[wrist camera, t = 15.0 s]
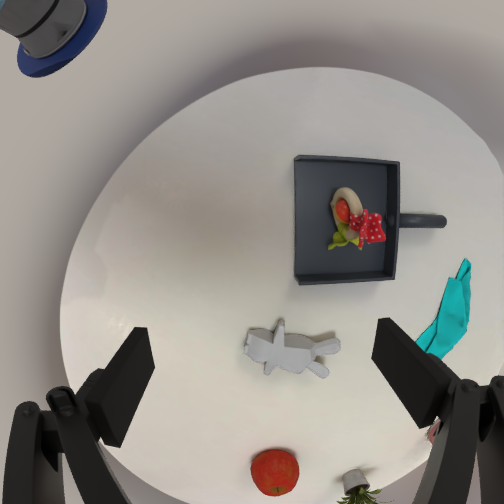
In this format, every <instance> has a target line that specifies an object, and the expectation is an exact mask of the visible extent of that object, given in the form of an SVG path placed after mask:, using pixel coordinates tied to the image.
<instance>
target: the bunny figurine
mask: <svg viewBox="0 0 504 504" xmlns="http://www.w3.org/2000/svg"><path fill="white" fill-rule="evenodd" d="M284 331H285V324H284V321H281V320H279V322H278V325H277V327H276V329H275V332H274V334H273V333H271V332H270V331H269V330H266V329H256V330H249V334H248V337H247V341H246V344H245V348H244V352H243V354H245V355H247V356H248V357H249V358H251V359H252V360H253V361H255V362H259V363H263V362H265V366H264V374H266V375H269V374H270V373H271V372H272V371H273V370H274V369H275V367H276V366H279V367H280V368H281V369H283V370H285V371H288V372H291V373H298V374H300V373H301V372H303V371H304V370H305V369H306V368H308V369H309V370H311V371H312V372H313V373H315V374H316V375H317V376H319V377H321V378H326V377H327V376H328V375H329V373H330V370H329V369H328V368H327V367H325V366H323V365H321V364H319V363H317V362H315V361H314V360H315V358H316V355H328V354H335V353H337V352H339V350H340V340H339V339H338V338H332V339H328V340H325V341H321V342H318V343H315V342H313V341H312V340H311V339H309V338H308V337H306V336H302V335H297V334H287V335H284Z"/></svg>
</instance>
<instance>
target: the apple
mask: <svg viewBox="0 0 504 504" xmlns="http://www.w3.org/2000/svg"><path fill="white" fill-rule="evenodd" d="M250 469H251V475H252V478H253V481H254V483H255V484H256V486H257V488H258V489H259V490H260V491H261V492H262V493H263V494H265V495H268V496H280V495H283V494H286V493H288V492H290V491H292V490H293V488H294V487H295V486H296V483H297V480H298V477H299V465H298V462H297V460H296V459H295V457H293V456H292V455H291V454H289V453H287V452H285V451H280V450H269V451H266V452H263V453H261V454H260V455H259V456H257V457H256V459H255V460H254V461H253V462H252V465H251V468H250Z"/></svg>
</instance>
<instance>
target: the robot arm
mask: <svg viewBox="0 0 504 504" xmlns="http://www.w3.org/2000/svg"><path fill="white" fill-rule="evenodd" d="M87 14H88V6H87V4H86V3H85V2H84V0H0V29H2V30H3V31H5V32H7V33H9V34H11V35H13V36H15V37H16V38H18V39H19V41H20V43H21V44H22V45H23V46H24V49H25V50H24V49H23V50H24V52H25V53H26V54H27V55H28V54H29V55H30V56H31V57H33V58H35V59H45V58H48V57H50V56H53V55H54V54H56V53H58V52H59V51H60V50H62V49H63V48H64V47H65V46H67V45H68V44H69V43H70V42H71V41H72V40H73V38H74V37H75V36H76V35H77V34H78V32H79V31H80V29H81V28H82V26H83V24H84V22H85V20H86V18H87ZM29 55H28V56H29ZM371 359H372V360H373V361H374V363H375V364H376V366H377V367H378V369H379V370H380V371H381V373H382V374H383V376H384V377H385V379H386V380H387V381H388V383H389V384H390V386H391V387H392V389H393V390H394V392H395V393H396V395H397V396H398V397H399V399H400V400H401V402H402V403H403V405H404V406H405V408H406V409H407V411H408V412H409V414H410V415H411V417H412V418H413V420H414V421H415V423H416V424H417V426H418V427H419V429H421V428H424V427H427V426H430V425H432V424H433V422H434V420H435V418H436V416H438V417H439V419H440V422H439V424H438V426H437V428H436V430H435V432H434V434H433V436H435V439H434V442H433V446H432V449H431V453H430V456H429V459H428V463H427V466H426V469H425V472H424V474H423V477H422V480H421V483H420V486H419V488H418V491H417V493H416V496H415V498H414V501H413V503H412V504H466V501H467V497H468V493H469V488H470V484H471V479H472V473H473V468H474V462H475V455H476V452H477V459H478V467H479V477H480V488H481V504H504V376H499V375H498V376H494V377H493V378H492V380H491V382H490V384H489V385H486V386H479V385H478V384H477V383H476V382H475V381H473V380H470V379H462V380H461V379H460V378H459V377H458V376H457V375H456V374H455V373H454V372H453V371H452V370H451V369H450V368H449V367H447V365H446V364H445V363H443V361H442V360H441V359H440V358H439V357H438V356H436V355H434V354H432V353H426V352H425V351H424V350H423V349H422V348H421V347H420V346H418V345H417V344H416V343H415V342H414V341H413V340H412V339H411V338H410V337H409V336H408V335H407V334H406V333H405V332H404V331H403V330H402V329H401V328H400V327H399V326H398V325H397V324H396V323H395V322H394V321H393V320H392V319H391V318H390V317H389V318H381V319H378V324H377V330H376V336H375V342H374V347H373V352H372V357H371ZM154 369H155V365H154V361H153V356H152V351H151V346H150V341H149V336H148V330H147V328H144V327H134V329H133V330H132V331H131V333H130V334H129V336H128V337H127V338H126V340H125V341H124V343H123V344H122V345H121V347H120V348H119V350H118V351H117V352H116V354H115V355H114V357H113V358H112V359H111V361H110V362H109V364H108V365H107V367H106V368H105V369H99V368H98V369H97V370H95V371H94V372H92V373H91V374H90V375H89V377H88V378H87V379H86V381H85V382H84V383H83V386H81V388H80V389H79V390H78V392H77V393H76V394H74V392H73V390H72V389H71V388H69V387H65V386H61V387H56V388H53V389H52V390H50V391H49V392H48V393H47V395H46V400H47V402H48V404H49V406H50V408H51V410H52V411H42V410H40V408H39V406H38V405H37V403H35V402H31V401H27V402H23V403H21V404H20V405H18V406H17V408H16V410H15V414H14V418H13V422H12V427H11V432H10V437H9V443H8V449H7V457H6V463H5V473H4V482H3V483H4V484H3V499H2V504H65V497H64V485H63V469H62V453H65V456H66V459H67V462H68V464H69V467H70V470H71V472H72V475H73V478H74V480H75V483H76V485H77V488H78V490H79V492H80V494H81V496H82V499H83V501H84V503H85V504H132V503H131V502H130V500H129V498H128V497H127V495H126V493H125V492H124V490H123V489H122V487H121V485H120V484H119V482H118V480H117V478H116V477H115V475H114V473H113V471H112V469H111V467H110V466H109V464H108V462H107V460H106V458H105V456H104V454H103V452H102V450H101V448H100V446H99V444H98V441H99V439H100V437H101V438H102V440H103V442H104V444H105V445H108V446H113V447H118V448H120V447H121V445H122V443H123V440H124V438H125V435H126V433H127V431H128V428H129V426H130V424H131V421H132V419H133V416H134V414H135V412H136V410H137V407H138V405H139V403H140V400H141V398H142V396H143V394H144V391H145V389H146V387H147V385H148V382H149V380H150V378H151V376H152V373H153V371H154Z"/></svg>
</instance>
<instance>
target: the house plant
mask: <svg viewBox="0 0 504 504" xmlns="http://www.w3.org/2000/svg"><path fill="white" fill-rule="evenodd" d="M343 483H344V494H345V496H351V497H346V498H342V497H341V498H342V499H343V500H345V501H346V502H339V501H337V502H338V503H339V504H344V503H347V502H348V501H349V502H348V503H347V504H354V503H355V504H360V503H361V504H364V501H365V503H367V504H377V503H376V502H375V501H376V500H375V501H374V502H373V501H372V500H371V499H376V498H373V497H371V496H370V495H368V494H367V493H370V494H378V493H380V492H381V490H378V489H377V490H378V491H377V490H375V491H372V492H368V491H369V490H368V491H366V490H367V489H368V488H369V487H370V484H369V483H368V481H367V480H366V478H365V477H364V475H363V474H362V472H361V471H360V470H358V469H356V470H351V471H349V472H347V473H346V474H344V476H343ZM365 494H366V495H365ZM367 496H368V497H369V498H371V499H369V498H368V497H367ZM355 498H356V500H355ZM348 499H349V500H348ZM347 500H348V501H347ZM363 500H364V501H363Z"/></svg>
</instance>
